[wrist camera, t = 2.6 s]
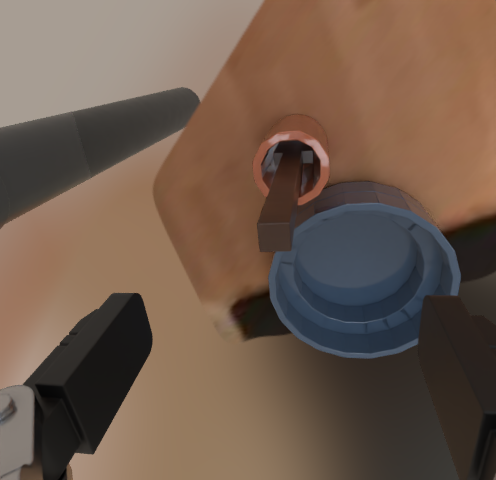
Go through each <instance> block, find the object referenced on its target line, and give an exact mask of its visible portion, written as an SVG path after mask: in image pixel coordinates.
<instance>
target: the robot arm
mask: <svg viewBox="0 0 496 480" xmlns="http://www.w3.org/2000/svg"><path fill="white" fill-rule="evenodd" d="M151 348H152V332H151V328H150V324H149V321H148V317H147V313H146V310H145V306H144V302H143V299H142V297H141V295H140V294H138V293H113V294H111V295H110V296H109V298H108V299H107V300H106V301H105V302H104V303H103V305H102V306H101V307H100V308H99V309H96V310H94V311H93V312H91V313H90V314H89V315H87V316H86V317H84V318H83V319H81V320H80V321H79V322H78V323H77V324H76V326H75V327H74V328H73V329H72V330H71V331H70V332H69V335H67V336H66V337H65V338H64V339H63V340H62V341H61V342H60V346H57V347H56V348H55V349H54V350H53V351H52V352H51V354H50V355H49V356H48V357H47V358H46V359H45V360H44V361H43V362H42V364H41V365H40V366H39V367H38V368H37V369H36V371H34V373H33V374H32V375H31V376H30V377H29V378H28V379H27V380H26V382H25V383H24V384H23V385H15V386H11V387H7V388H4V389H1V390H0V480H73V478H72V469H71V467H70V465H69V462H70V460H71V459H72V457H73V455H74V453H84V454H94V453H95V451H96V449H97V447H98V445H99V444H100V442H101V440H102V438H103V436H104V435H105V433H106V431H107V429H108V428H109V426H110V424H111V422H112V420H113V418H114V416H115V415H116V413H117V411H118V410H119V408H120V406H121V404H122V402H123V401H124V399H125V397H126V395H127V393H128V392H129V390H130V388H131V386H132V384H133V383H134V381H135V379H136V377H137V376H138V374H139V372H140V370H141V368H142V367H143V365H144V363H145V361H146V359H147V357H148V356H149V354H150V351H151ZM418 355H419V360H420V365H421V368H422V371H423V374H424V377H425V380H426V383H427V385H428V389H429V392H430V395H431V397H432V401H433V403H434V406H435V409H436V412H437V415H438V418H439V421H440V424H441V427H442V430H443V432H444V436H445V439H446V442H447V444H448V447H449V450H450V453H451V456H452V459H453V462H454V465H455V467H456V471H457V474H458V477H459V479H460V480H496V325H494V324H493V323H492V322H490V321H489V320H488V319H486V318H485V317H484V316H470V314H469V312H468V311H467V309H466V307H465V306H464V304H463V302H462V301H461V299H460V298H459V297H458V296H454V295H426V296H425V297H424V299H423V304H422V312H421V320H420V329H419V337H418Z"/></svg>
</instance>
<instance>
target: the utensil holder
mask: <svg viewBox="0 0 496 480" xmlns="http://www.w3.org/2000/svg"><path fill="white" fill-rule="evenodd" d="M289 141H300V142H303V143H305V144H307V145H309V146H311V147H312V148H313V150H314V162H313V163H308V164H303V169H302V176H301V184H300V191H299V198H298V205H303V204H305V203H307V202H309V201H310V200H312V199H314V198H315V197H317V196H319V195H320V193H321V192H322V190H323V188H324V186H325V185H326V183H327V181H328V179H329V151H328V142H327V136H326V134H325V132H324V130H323V128H322V127H321V125H320V124H319V123H318V122H317V121H316V120H314V119H313V118H311V117H309V116H306V115H300V114H294V115H289V116H286V117H284V118H282V119H281V120H279V121H278V122H277V123H276V124H275V125H273V126H272V128H271V129H270V131H269V132H268V134H267V135H266V137H265V138H264V140H263V141H262V143H261V144H260V147H259V149H258V151H257V153H256V155H255V157H254V160H253V163H252V164H253V174H254V181H255V183H256V185H257V186H258V188H259V189H260V190H261V192H262V193H263V195H264V196H265V197H266V198H267V196H268V193H269V190H270V187H271V184H272V182H273V179H274V176H275V173H276V171H277V168H278V165H274V151H275V149H276V147H277V145H278V143H279V142H289Z"/></svg>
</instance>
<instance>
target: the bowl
mask: <svg viewBox="0 0 496 480" xmlns="http://www.w3.org/2000/svg"><path fill="white" fill-rule="evenodd" d="M268 279H269V290H270V299H271V302H272V304H273V306H274V308H275V310H276V312H277V314H278V316H279V318H280V320H281V322H282V323H283V324H284V325H285V326H286V327H287V328H288V329H289V330H290V331H291V332H292V333H293V334H294V335H295V336H296V337H297V338H298V339H300V340H302V341H303V342H305V343H307V344H309V345H310V346H312V347H314V348H316V349H317V350H320V351H323V352H327V353H330V354H334V355H338V356H341V357H345V358H376V357H381V356H386V355H391V354H397V353H400V352H402V351H404V350H406V349H408V348H411V347H413V346H415V345H417V344H418V337H419V329H420V320H421V312H422V304H423V299H424V297H425V296H426V295H454V296H458V291H459V286H460V280H461V274H460V270H459V266H458V262H457V258H456V254H455V251H454V249H453V247H452V246H451V245H450V243H449V242H448V240H447V239H446V238H445V236H444V235H443V233H442V232H441V230H440V229H439V228H438V226H437V225H436V223H435V222H434V221H433V219H432V218H431V217H430V215H429V214H428V213H427V211H426V210H425V209H424V207H423V206H422V205H421V203H420V202H418V201H417V200H415V199H414V198H412V197H410V196H409V195H407V194H406V193H404V192H403V191H401V190H399V189H397V188H394V187H390V186H386V185H382V184H378V183H374V182H370V181H366V182H346V183H339V184H337V185H334V186H331V187H328V188H325V189H323V190H322V192H321V193H320V195H319V196H317V197H315V198H314V199H312V200H310V201H309V202H307V203H305V204H303V205H298V206H297V213H296V220H295V228H294V235H293V242H292V250H291V251H284V252H274V253H273V258H272V262H271V267H270V271H269V275H268Z"/></svg>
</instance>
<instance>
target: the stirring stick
mask: <svg viewBox="0 0 496 480" xmlns="http://www.w3.org/2000/svg"><path fill="white" fill-rule="evenodd" d="M313 162H314V150H313V148H312V147H311V146H309V145H307V144H305V143H303V142H300V141H289V142H279V143H278V145H277V147H276V149H275V151H274V165H278V168H277V171H276V173H275V176H274V179H273V182H272V184H271V187H270V190H269V193H268V196H267V198H266V201H265V204H264V207H263V209H262V212H261V215H260V218H259V220H258V223H257V229H258V238H259V248H260V252H284V251H291V250H292V242H293V235H294V228H295V220H296V213H297V206H298V198H299V191H300V184H301V176H302V169H303V164H308V163H313Z"/></svg>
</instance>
